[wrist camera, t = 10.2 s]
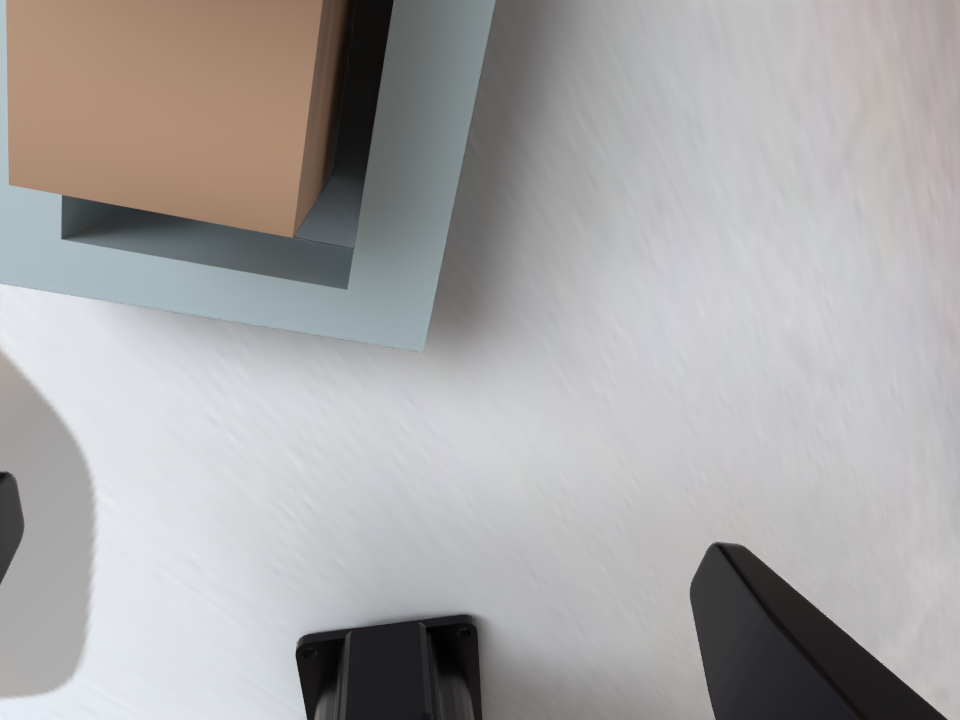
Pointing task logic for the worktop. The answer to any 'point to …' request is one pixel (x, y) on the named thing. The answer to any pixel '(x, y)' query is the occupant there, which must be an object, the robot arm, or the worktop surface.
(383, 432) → the worktop surface
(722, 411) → the worktop surface
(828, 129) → the worktop surface
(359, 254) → the light blue tray
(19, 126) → the brown rectangular block
